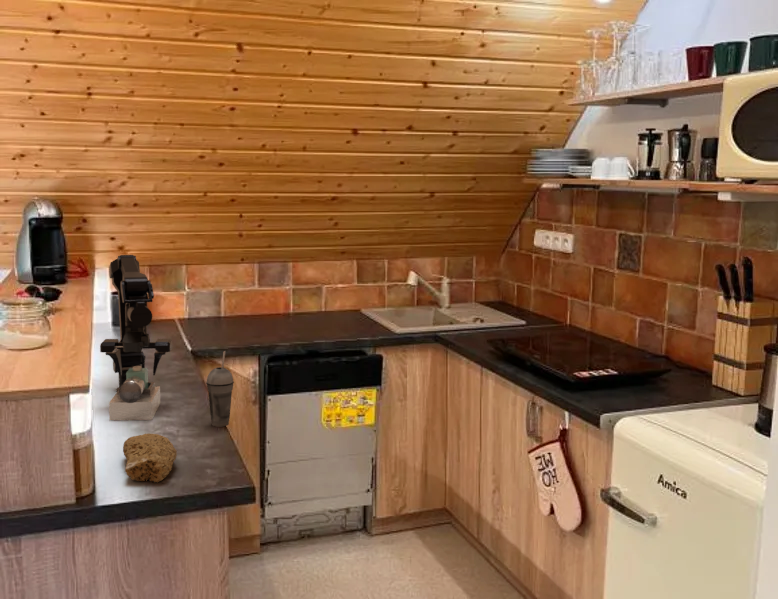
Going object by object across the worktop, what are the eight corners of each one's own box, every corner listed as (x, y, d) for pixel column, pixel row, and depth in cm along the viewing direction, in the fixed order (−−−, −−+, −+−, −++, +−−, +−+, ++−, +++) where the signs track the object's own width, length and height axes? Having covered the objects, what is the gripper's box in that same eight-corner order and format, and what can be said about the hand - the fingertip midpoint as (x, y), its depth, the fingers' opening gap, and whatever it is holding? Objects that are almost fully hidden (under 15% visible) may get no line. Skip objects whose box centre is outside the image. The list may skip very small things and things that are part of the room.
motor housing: (121, 403, 221) (120, 367, 220) (160, 403, 223) (159, 367, 221) (109, 420, 205) (108, 382, 204) (151, 420, 207) (151, 381, 206)
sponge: (174, 488, 165) (186, 440, 184) (165, 458, 162) (178, 412, 181) (113, 500, 164) (131, 450, 183) (103, 469, 161) (122, 422, 180)
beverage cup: (204, 421, 207) (203, 349, 204) (230, 419, 210) (230, 347, 207) (209, 429, 200) (208, 355, 198) (236, 426, 203) (236, 353, 200)
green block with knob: (130, 388, 219) (129, 364, 218) (148, 388, 220) (147, 364, 219) (126, 393, 214) (126, 369, 213) (145, 393, 215) (144, 368, 214)
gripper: (94, 326, 205) (96, 382, 207) (166, 326, 207) (167, 382, 210) (103, 319, 216) (105, 373, 218) (172, 319, 218) (172, 372, 221)
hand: (137, 375), depth 216 cm, fingers open, 9 cm apart
